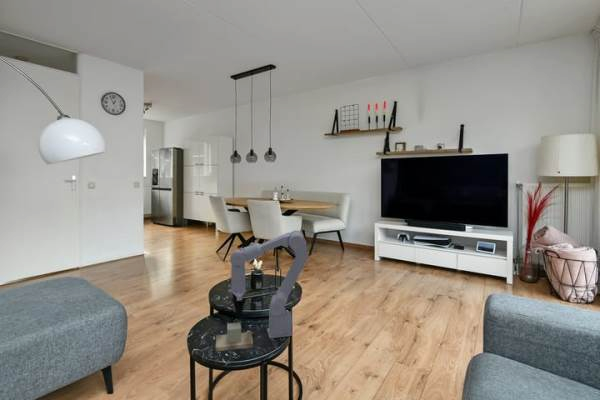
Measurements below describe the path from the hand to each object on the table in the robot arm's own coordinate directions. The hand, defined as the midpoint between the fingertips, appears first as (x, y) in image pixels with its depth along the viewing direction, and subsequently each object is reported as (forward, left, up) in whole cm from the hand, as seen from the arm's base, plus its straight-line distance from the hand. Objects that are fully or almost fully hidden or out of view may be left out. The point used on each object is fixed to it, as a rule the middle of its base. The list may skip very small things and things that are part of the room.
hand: (238, 310), depth 130 cm
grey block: (+2, +8, -8) cm, 12 cm away
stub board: (+2, +8, -9) cm, 13 cm away
